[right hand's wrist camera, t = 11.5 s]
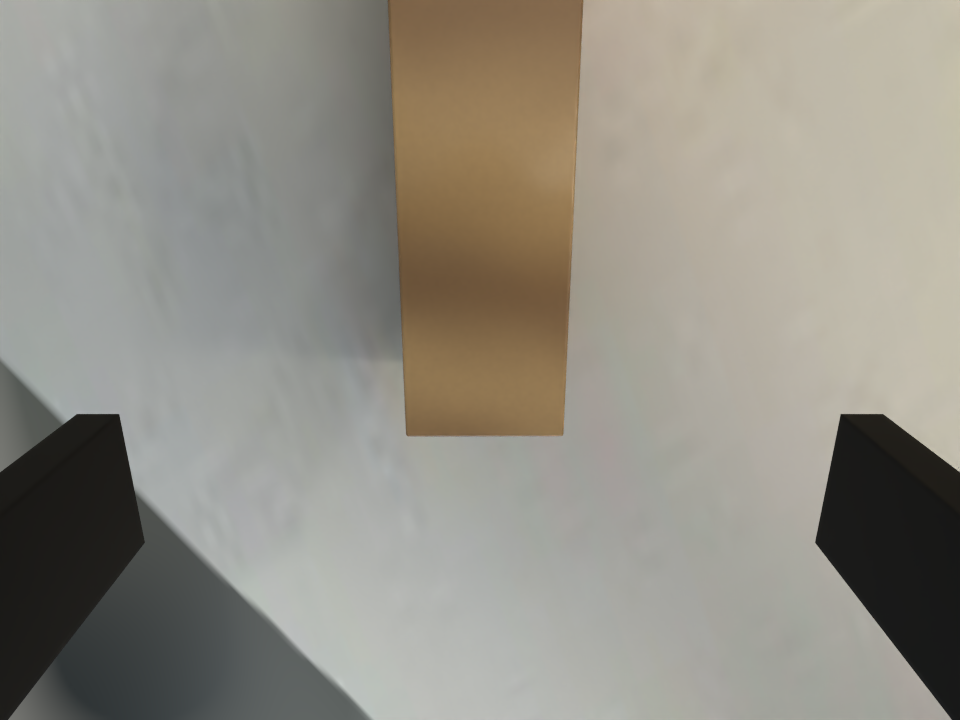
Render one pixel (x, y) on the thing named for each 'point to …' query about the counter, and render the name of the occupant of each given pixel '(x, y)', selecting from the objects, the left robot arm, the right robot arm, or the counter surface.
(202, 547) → the counter surface
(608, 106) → the counter surface
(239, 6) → the counter surface
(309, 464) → the counter surface
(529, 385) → the post
